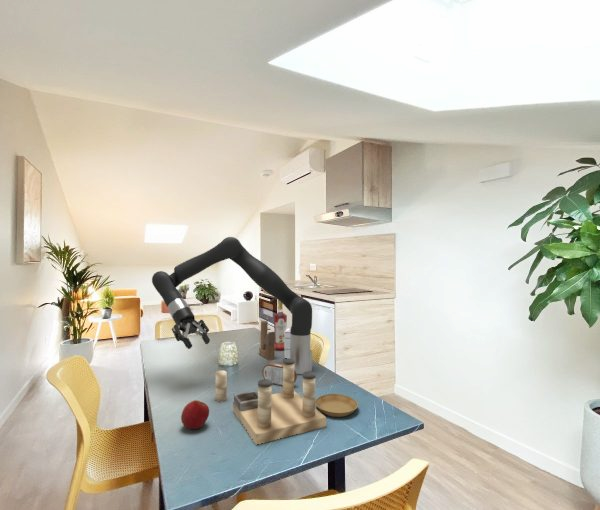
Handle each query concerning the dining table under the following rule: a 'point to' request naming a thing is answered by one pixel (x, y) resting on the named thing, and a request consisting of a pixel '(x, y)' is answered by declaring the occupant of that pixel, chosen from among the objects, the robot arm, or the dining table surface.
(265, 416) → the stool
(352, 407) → the plant saucer
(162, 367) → the dining table surface
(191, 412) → the apple
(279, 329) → the liquor
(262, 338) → the wooden block
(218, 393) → the birch leg
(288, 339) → the syrup box
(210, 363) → the dining table surface
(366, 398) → the dining table surface
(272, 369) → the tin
